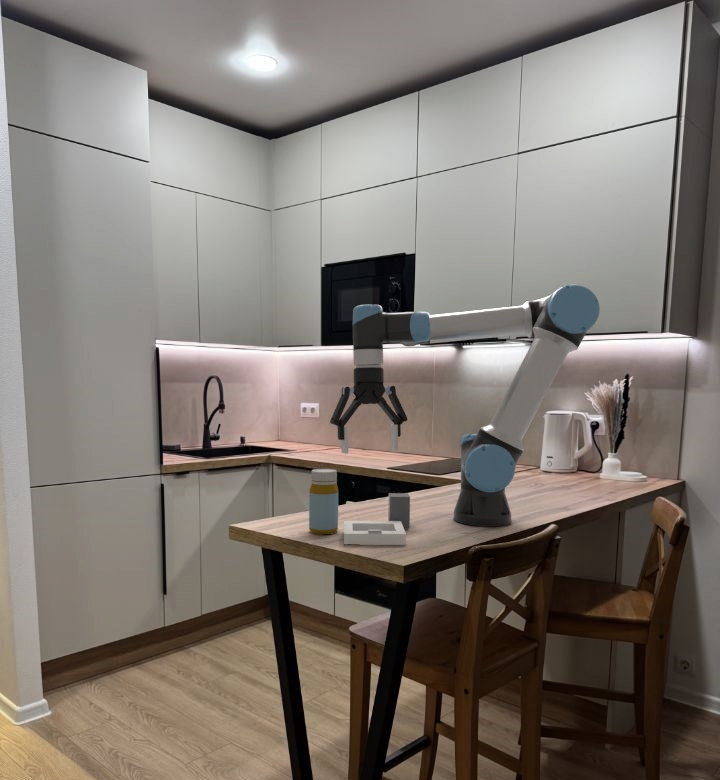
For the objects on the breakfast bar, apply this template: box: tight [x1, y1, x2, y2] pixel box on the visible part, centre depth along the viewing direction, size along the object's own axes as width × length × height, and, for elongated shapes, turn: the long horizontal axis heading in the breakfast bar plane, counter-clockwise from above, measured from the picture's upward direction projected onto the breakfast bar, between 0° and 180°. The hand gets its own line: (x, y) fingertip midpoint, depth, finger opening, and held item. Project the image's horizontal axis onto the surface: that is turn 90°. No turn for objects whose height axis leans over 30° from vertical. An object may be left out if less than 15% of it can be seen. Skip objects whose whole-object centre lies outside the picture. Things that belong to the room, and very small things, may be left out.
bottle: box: [308, 468, 339, 535], centre depth 151 cm, size 7×7×15 cm
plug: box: [387, 492, 411, 530], centre depth 158 cm, size 5×5×8 cm
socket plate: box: [343, 520, 407, 546], centre depth 146 cm, size 14×13×3 cm
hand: (370, 451), depth 155 cm, fingers open, 13 cm apart
